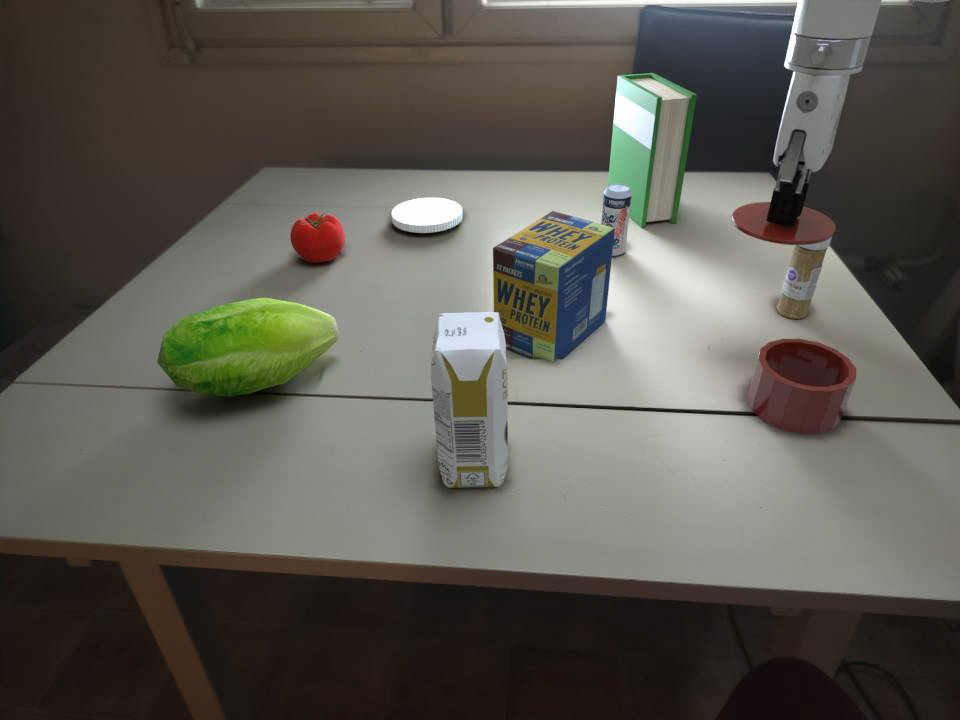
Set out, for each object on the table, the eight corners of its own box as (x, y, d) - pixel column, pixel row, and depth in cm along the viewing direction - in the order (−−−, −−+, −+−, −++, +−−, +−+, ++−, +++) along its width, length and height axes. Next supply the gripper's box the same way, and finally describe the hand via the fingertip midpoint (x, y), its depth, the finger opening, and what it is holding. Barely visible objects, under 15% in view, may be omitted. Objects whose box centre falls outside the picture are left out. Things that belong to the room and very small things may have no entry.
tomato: (351, 246, 125) (346, 209, 120) (339, 268, 118) (332, 229, 113) (303, 245, 126) (296, 208, 121) (287, 267, 118) (279, 228, 114)
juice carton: (439, 498, 73) (426, 355, 62) (442, 445, 80) (431, 308, 69) (508, 497, 72) (508, 354, 61) (505, 443, 79) (505, 306, 68)
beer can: (593, 253, 120) (599, 189, 113) (605, 243, 123) (611, 180, 116) (618, 259, 118) (625, 194, 111) (629, 249, 121) (637, 185, 114)
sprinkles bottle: (769, 310, 103) (791, 229, 95) (788, 301, 105) (810, 221, 97) (795, 323, 100) (820, 240, 92) (814, 314, 101) (839, 232, 94)
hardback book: (676, 223, 130) (696, 94, 116) (641, 227, 129) (657, 97, 115) (639, 190, 144) (653, 72, 130) (606, 194, 143) (617, 75, 129)
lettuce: (352, 391, 89) (339, 316, 82) (170, 432, 83) (140, 355, 76) (336, 341, 99) (323, 270, 92) (172, 375, 93) (146, 302, 86)
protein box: (492, 344, 97) (490, 247, 88) (549, 300, 107) (553, 209, 98) (553, 369, 92) (558, 268, 83) (607, 320, 101) (617, 225, 92)
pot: (818, 386, 87) (835, 338, 83) (852, 441, 78) (872, 391, 74) (736, 385, 88) (748, 338, 83) (760, 440, 79) (774, 390, 75)
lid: (812, 209, 85) (826, 158, 81) (849, 249, 76) (867, 194, 72) (719, 210, 86) (729, 159, 82) (745, 250, 76) (758, 195, 72)
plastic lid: (410, 243, 125) (409, 231, 124) (381, 218, 135) (380, 206, 134) (475, 227, 131) (474, 215, 129) (443, 204, 141) (442, 192, 139)
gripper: (853, 72, 62) (803, 251, 73) (875, 42, 73) (828, 202, 84) (770, 64, 65) (733, 237, 76) (803, 37, 76) (767, 191, 87)
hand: (783, 217), depth 80 cm, fingers closed on lid, 2 cm apart
